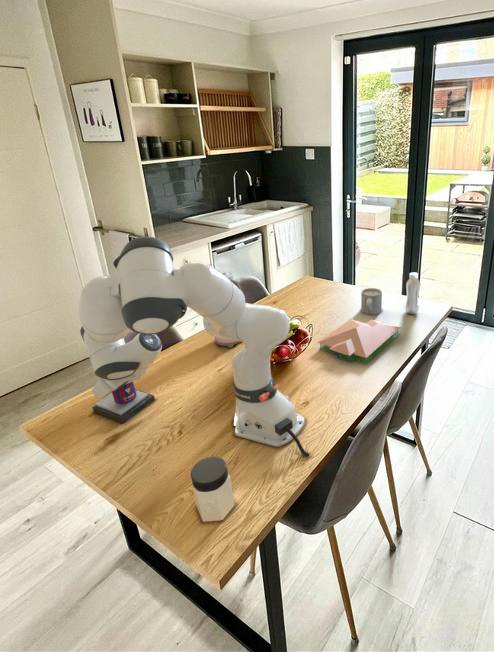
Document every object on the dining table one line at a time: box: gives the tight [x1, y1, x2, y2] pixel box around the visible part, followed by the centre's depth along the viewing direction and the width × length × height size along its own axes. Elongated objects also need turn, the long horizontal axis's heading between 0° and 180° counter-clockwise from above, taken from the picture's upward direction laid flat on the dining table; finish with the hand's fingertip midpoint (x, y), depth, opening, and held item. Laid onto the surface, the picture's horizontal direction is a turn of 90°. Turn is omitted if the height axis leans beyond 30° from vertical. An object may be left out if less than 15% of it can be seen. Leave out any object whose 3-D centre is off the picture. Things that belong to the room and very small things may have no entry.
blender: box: [214, 269, 242, 349], centre depth 166 cm, size 16×12×32 cm
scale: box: [91, 388, 156, 424], centre depth 133 cm, size 14×13×3 cm
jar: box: [190, 456, 236, 523], centre depth 93 cm, size 9×8×12 cm
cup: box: [112, 381, 137, 404], centre depth 131 cm, size 7×10×7 cm
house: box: [317, 318, 401, 365], centre depth 166 cm, size 23×33×8 cm
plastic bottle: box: [404, 272, 421, 315], centre depth 190 cm, size 6×7×20 cm
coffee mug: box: [360, 287, 383, 315], centre depth 195 cm, size 13×10×10 cm
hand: (117, 385), depth 130 cm, fingers closed on cup, 6 cm apart
